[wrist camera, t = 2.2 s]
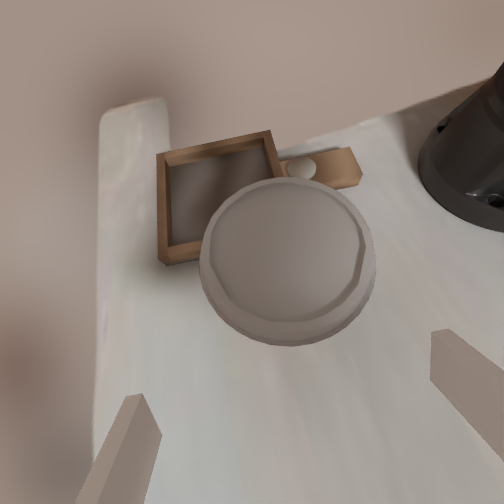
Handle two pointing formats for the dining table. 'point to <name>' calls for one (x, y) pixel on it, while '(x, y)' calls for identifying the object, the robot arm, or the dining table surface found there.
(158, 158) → the tray
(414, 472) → the dining table surface
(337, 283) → the disposable coffee cup
